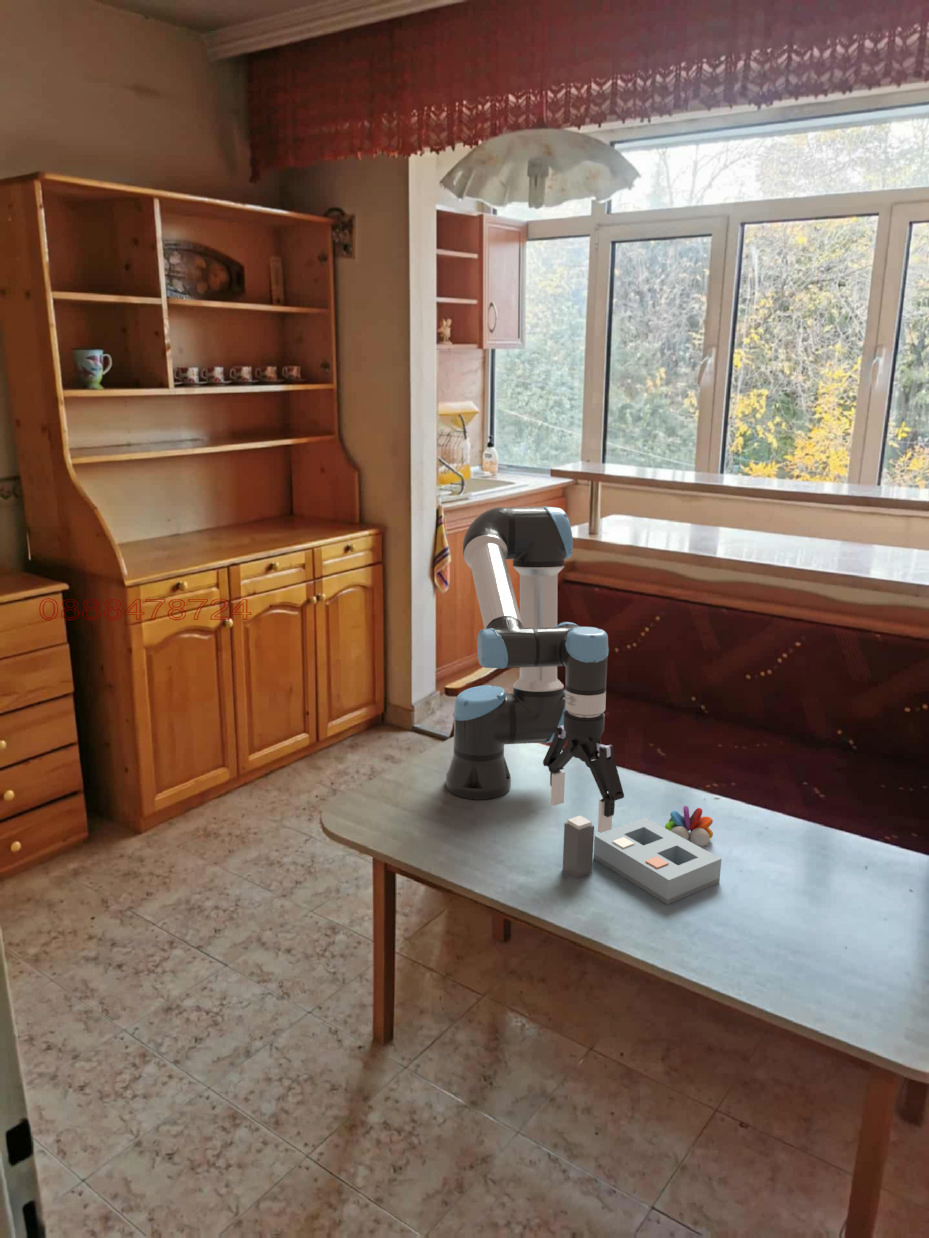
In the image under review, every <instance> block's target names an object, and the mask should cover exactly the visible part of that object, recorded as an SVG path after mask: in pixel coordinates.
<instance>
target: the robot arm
mask: <svg viewBox="0 0 929 1238" xmlns="http://www.w3.org/2000/svg"><path fill="white" fill-rule="evenodd" d="M573 539H574V538H573V532H572V527H571V523H570V520H569V517H568V515H567V513H566V512H565V510H564V509H562V508H560V507H556V506H545V505H543V506H524V507H523V506H520V507H519V506H517V507H516V506H515V507H513V506H511V507H506V506H505V507H504V506H500V507H499V506H498V507H493V508H490V509H487V510H486V511H484V512H482V513H481V514H480V515H478V516H477V517H476V518H475V519H474V520H473V521H472V522H471V524H470V525H469V526H468V528H467V529H466V532H465V534H464V536H463V539H462V553H463V557H464V562H465V564H467V566H468V568H470V569H471V574H472V578H473V583H474V588H475V592H476V593H475V594H476V597H477V601H478V605H479V610H480V616H481V619H482V624H483V628H484V629H480V630H479V632H478V634H477V638H476V640H477V641H476V651H477V660H478V662H479V665H480V667H483V668H485V669H502V670H503V669H514V668H515V669H516V668H517V669H518V668H519V677H518V679H517V680H516V681H515V682H514V683H513V685H512V687H513V688H512V691H513V692H511V693H507V692H506V690H505V688H503V687H501V686H498V685H491V684H486V685H485V684H483V685H478V686H477V685H476V686H474V687H469V688H467V689H465V690H463V691H461V692H459V694H458V695H457V696H456V698H455V700H454V705H453V713H452V715H453V756H452V757H451V762H450V765H449V768H448V771H447V773H446V775H445V788H446V789H447V791H448V792H450V793H451V794H452V795H455V796H457V797H460V798H463V799H469V800H470V799H471V800H491V799H495V798H499V797H502V796H504V795H505V794H507V793H508V792H509V791H510V790H511V788H512V787H511V786H512V785H511V783H512V778H511V773H510V771H509V767H508V764H507V762H506V758H505V745H519V744H522V745H523V744H543V745H545V744H548V743H550V745H549V747H548V749H547V752H546V753H545V757H544V758H543V760H542V764H543V766H544V767H547V768H548V771H549V772H550V773H549V774H550V776H549V777H550V779H549V785H550V787H551V789H550V806H553V807H554V806H555V807H556V806H558V805H561V804H564V803H565V785H566V783H565V782H566V778H565V777H566V771H564V770H565V767H566V765H567V764H568V762H570V760H572V759H573V758H575V759H579V760H580V761H582V762H584V764H585V767H587V768H589V769H590V772H591V774H592V777H593V779H594V782H595V783H596V786H597V788H598V790H599V793H600V795H601V798H599V800H598V801H599V803H598V818H597V819H598V820H597V833H599V834H600V833H603V832H606V831H609V830H612V829H613V828H612V826H613V824H612V823H613V816H614V814H615V805H616V804H615V803H616V801H618V800H622V799H624V797H625V794H624V790H623V787H622V782H621V779H620V776H619V775H620V774H619V772H618V771H619V770H618V768H617V764H616V760H615V756H614V755H615V753H614V748H615V747H614V746H613V745H612V744H608V745H607V744H606V745H605V744H602V740H601V737H602V735H603V734H604V732H605V722H606V721H605V720H606V719H605V718H606V714H605V713H604V712H605V711H606V704H607V703H606V701H607V699H606V698H607V678H608V677H607V676H608V675H607V674H608V658H609V652H610V648H609V636H608V633H607V632H606V631H605V630H604V629H601V628H598V627H594V626H580V625H578V624H576V623H574V622H571V621H570V622H569V621H562V622H560V623H558V578H559V577H558V574H559V573H560V572H561V571H562V570H563V569H564V568H565V560H568V559H570V558H571V557H572V555H573V549H574V542H573V541H574V540H573ZM506 560H512V567H513V569H514V570H515V571H516V572H517V573H518V574H519V607H518V602H517V598H516V594H515V590H514V587H513V582H512V579H511V575H510V573H509V568H508V564H507V561H506ZM558 667H564V668H565V679H564V680H565V682H564V683H565V686H564V683H562V682H561V681H560V679H558ZM564 687H565V688H564ZM566 742H567V744H566ZM565 744H566V745H565ZM595 758H596V759H595Z"/></svg>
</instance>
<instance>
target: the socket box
mask: <svg viewBox="0 0 929 1238" xmlns="http://www.w3.org/2000/svg"><path fill="white" fill-rule="evenodd" d="M593 859H594V860H595V861H598V862H599V863H601V864H602V865H604V866H605V867H606V868H609V869H610V870H612V871H613V872H615V873H616V874H618V875H619V876H621V877H622V878H624V879H626V880H627V881H628V882H630V883H632V884H633V885H635V886H637V887H638V888H640V889H642V890H643V891H645V892H647V893H648V894H650V895H651V896H653V897H655V899H658V900H659V901H661V902H662V903H664V904H665V905H670V904H672V903H674V902H677V901H679V900H681V899H684V898H686V897H688V896H691V895H693V894H696V893H697V892H700V891H702V890H704V889H707V888H709V887H711V886H715V885H717V884H719V883H720V880H721V879H720V878H721V867H722V857H719V856H717V855H715V854H714V853H712V852H710V851H709V850H706V849H704V848H703V847H699V846H697V845H695V844H693V843H692V842H691V841H690V840H686V839H684V838H682V837H680V836H679V835H677V834H675V833H673V832H671V831H669V830H668V829H666V828H665V827H664V826H663V825H660V824H658V823H656V822H655V821H653V820H650V819H649V818H647V817H644V818H640V819H638V820H634V821H631V822H629V823H626V824H623V825H620V826H619V827H614V828H611V830H608V831H605V832H602V833H600V832H599V834H594V841H593Z"/></svg>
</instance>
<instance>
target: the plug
mask: <svg viewBox="0 0 929 1238" xmlns="http://www.w3.org/2000/svg"><path fill="white" fill-rule="evenodd" d="M563 827H564V829H563V830H564V831H563V834H564V835H563V850H562V853H563V855H562V871H564V872H565V873H566V874H568V875H570V876H571V877H573V878H574V879H579V878H582V877H584V876H588V875H590V874H593V859H594V839H595V825H594V824H592V821H590V820H589V819H587V818H586V817H584V816H582V815H577V816H574V817H571V818H568V819H567V822H566V821H565V822H564V825H563Z"/></svg>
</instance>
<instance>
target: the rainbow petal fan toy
mask: <svg viewBox="0 0 929 1238" xmlns="http://www.w3.org/2000/svg"><path fill="white" fill-rule="evenodd" d="M682 808H683V815H682V814H680V813H679V812H678V811H677V810H676V811H675V810H673V811H671V812H670V818H669V819H668V822H666V824H665V827H664V828H666V829H668V830H669V831H671V832H673V833H675V834H677V835H679V836H680V837H682V838H684V839H686V840H688V841H690V842H692V843H693V844H695V845H697V846H699V847H701V848H703V847H705V846H706V845H708V844H709V841H710V839H712V838H713V835H714V832H713V830H712V829H711V828H710V826H711V825H712V824H713V821H714V820H713V818H712V817H711V816H702V815H703V809H702V808H701V807H697V808H696V809H695V810H694V811H693V813H691V816H690V809H689V806H687V805H685V806H683V807H682ZM689 831H690V832H689Z"/></svg>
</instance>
